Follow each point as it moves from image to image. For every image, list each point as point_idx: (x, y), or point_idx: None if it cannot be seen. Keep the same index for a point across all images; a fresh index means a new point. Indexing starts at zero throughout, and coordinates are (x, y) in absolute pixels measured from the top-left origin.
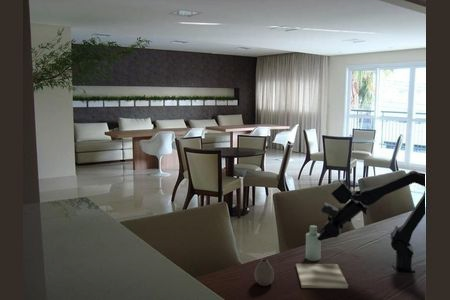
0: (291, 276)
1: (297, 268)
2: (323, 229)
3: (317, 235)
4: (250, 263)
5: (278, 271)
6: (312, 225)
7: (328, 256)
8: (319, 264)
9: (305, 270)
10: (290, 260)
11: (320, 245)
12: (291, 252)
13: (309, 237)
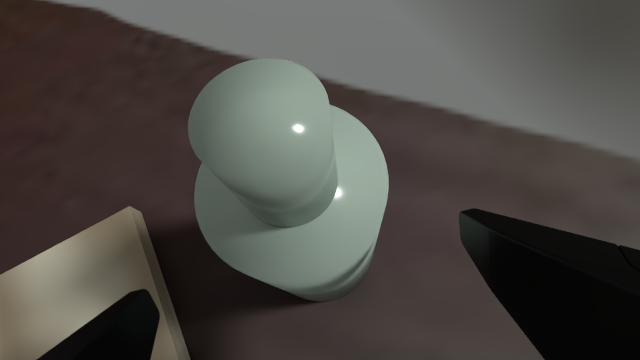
0: (3, 246)
1: (58, 244)
2: (494, 252)
3: (285, 239)
4: (114, 29)
5: (55, 162)
6: (312, 79)
7: (412, 341)
8: (165, 356)
9: (37, 303)
10: None
11: (320, 292)
12: (334, 104)
13: (203, 174)
